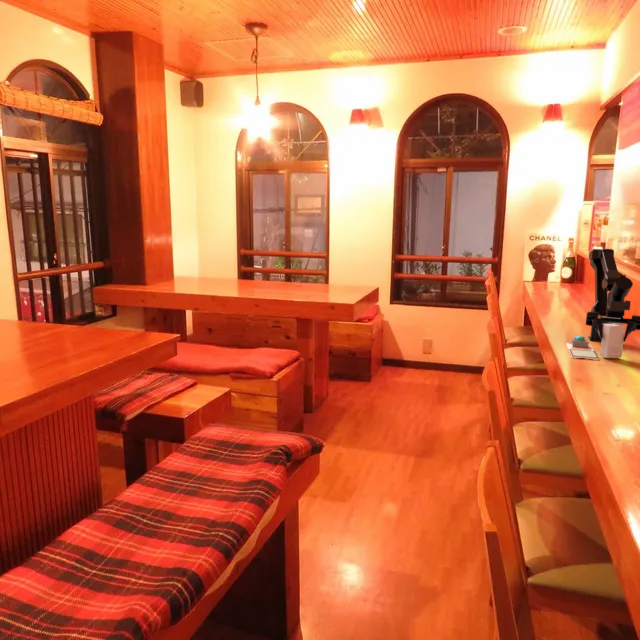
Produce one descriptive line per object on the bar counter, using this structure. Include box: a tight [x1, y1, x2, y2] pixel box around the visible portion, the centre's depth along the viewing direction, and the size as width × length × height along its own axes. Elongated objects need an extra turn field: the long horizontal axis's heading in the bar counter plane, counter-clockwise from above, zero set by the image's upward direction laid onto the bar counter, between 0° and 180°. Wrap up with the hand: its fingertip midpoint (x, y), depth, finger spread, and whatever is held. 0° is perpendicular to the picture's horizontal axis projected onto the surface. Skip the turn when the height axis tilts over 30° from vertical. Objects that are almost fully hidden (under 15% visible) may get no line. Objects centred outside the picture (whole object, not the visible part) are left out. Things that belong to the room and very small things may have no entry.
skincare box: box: [599, 323, 626, 359], centre depth 198 cm, size 6×4×12 cm
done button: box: [575, 335, 586, 341], centre depth 213 cm, size 3×3×2 cm
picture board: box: [565, 337, 600, 361], centre depth 207 cm, size 20×9×3 cm, turn 162°
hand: (612, 339), depth 197 cm, fingers closed on skincare box, 7 cm apart
